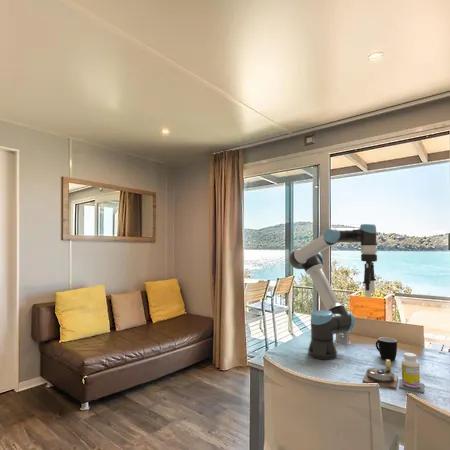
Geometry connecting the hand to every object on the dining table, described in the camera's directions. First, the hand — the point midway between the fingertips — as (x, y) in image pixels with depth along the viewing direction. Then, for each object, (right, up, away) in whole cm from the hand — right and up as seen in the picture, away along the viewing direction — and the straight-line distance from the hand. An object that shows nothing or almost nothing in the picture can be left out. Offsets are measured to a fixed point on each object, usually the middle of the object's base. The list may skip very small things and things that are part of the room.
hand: (370, 295), depth 164 cm
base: (-5, -34, -21) cm, 40 cm away
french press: (-1, -37, +34) cm, 50 cm away
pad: (+5, -33, -28) cm, 43 cm away
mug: (+11, -35, +6) cm, 38 cm away
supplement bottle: (+5, -33, -28) cm, 43 cm away
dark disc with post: (-5, -32, -21) cm, 39 cm away
